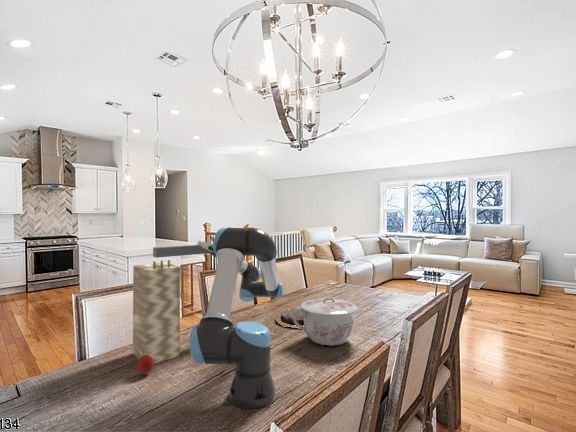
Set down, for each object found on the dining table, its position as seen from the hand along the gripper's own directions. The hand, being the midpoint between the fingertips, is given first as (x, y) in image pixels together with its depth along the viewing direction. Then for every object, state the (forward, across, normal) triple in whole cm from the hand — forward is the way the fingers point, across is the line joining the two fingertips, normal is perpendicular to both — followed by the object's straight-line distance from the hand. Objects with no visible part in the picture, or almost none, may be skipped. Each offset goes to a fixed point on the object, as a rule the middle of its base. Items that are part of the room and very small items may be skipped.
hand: (200, 243), depth 150 cm
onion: (+2, +14, +55) cm, 57 cm away
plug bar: (+4, 0, +8) cm, 9 cm away
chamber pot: (-65, +38, +17) cm, 77 cm away
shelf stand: (-6, 0, +50) cm, 51 cm away
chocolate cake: (-73, +8, +12) cm, 75 cm away
